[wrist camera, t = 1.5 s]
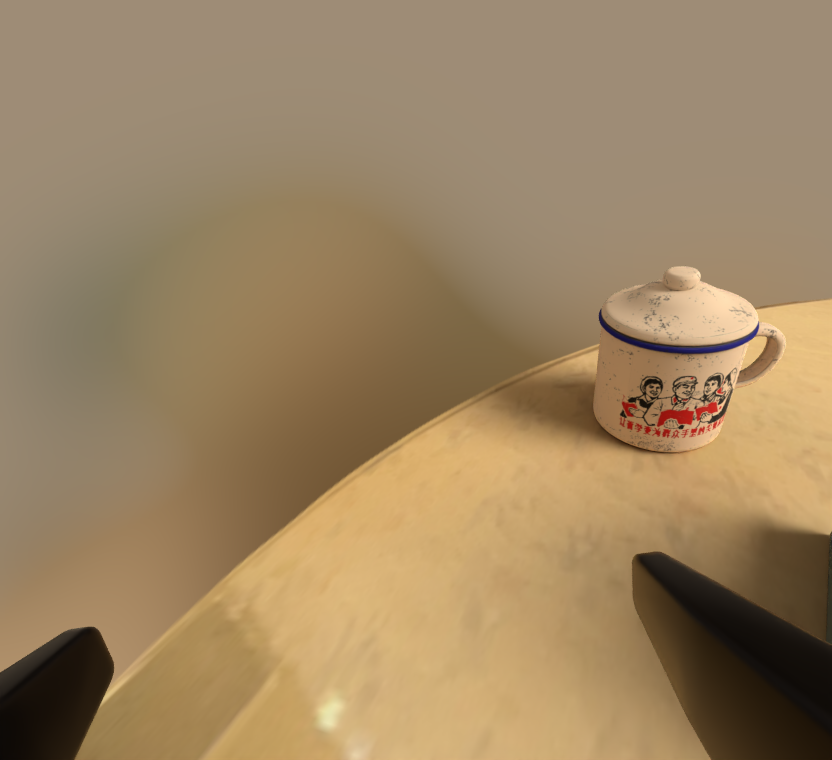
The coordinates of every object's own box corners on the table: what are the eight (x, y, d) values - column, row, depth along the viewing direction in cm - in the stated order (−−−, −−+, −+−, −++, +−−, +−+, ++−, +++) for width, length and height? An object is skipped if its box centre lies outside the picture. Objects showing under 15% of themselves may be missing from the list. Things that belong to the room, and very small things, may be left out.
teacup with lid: (609, 461, 29) (632, 308, 23) (576, 387, 37) (586, 257, 30) (800, 450, 27) (881, 282, 21) (724, 375, 35) (768, 235, 29)
